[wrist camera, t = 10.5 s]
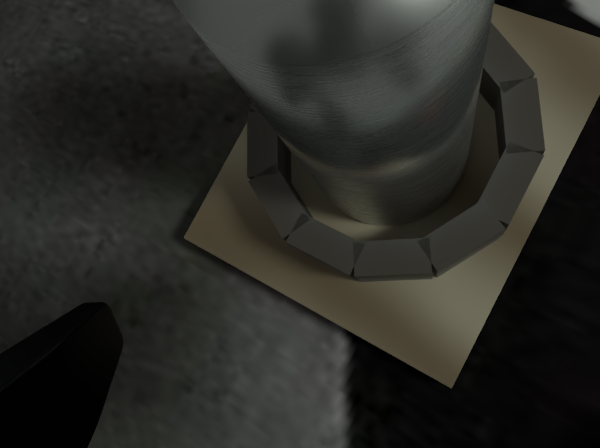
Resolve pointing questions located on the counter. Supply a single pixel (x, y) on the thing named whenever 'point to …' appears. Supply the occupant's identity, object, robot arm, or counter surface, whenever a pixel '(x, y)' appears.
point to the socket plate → (427, 231)
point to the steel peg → (360, 91)
